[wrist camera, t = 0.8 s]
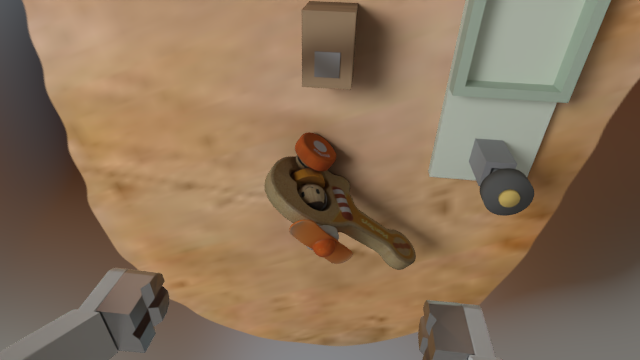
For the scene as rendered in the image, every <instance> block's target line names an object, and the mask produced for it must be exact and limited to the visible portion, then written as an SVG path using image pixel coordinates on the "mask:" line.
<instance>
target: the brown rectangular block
mask: <svg viewBox="0 0 640 360" xmlns="http://www.w3.org/2000/svg"><path fill="white" fill-rule="evenodd" d="M357 11H358V3H342V2H317V1H309V2H308V3H307V5H306V6H305V7H304V8H303V9H302V87H313V88H330V89H346V90H351V85H352V78H353V68H354V54H355V39H356V25H357Z"/></svg>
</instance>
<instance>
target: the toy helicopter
mask: <svg viewBox="0 0 640 360" xmlns="http://www.w3.org/2000/svg"><path fill="white" fill-rule="evenodd" d="M295 150H296V153H297V156H296V157H285V158H282V159H280V160H279V161H277V162H276V163H275V164H274V166H273V167H272V169H271V170H270V172H269V173H268V175H267V177H266V180H265V192H266V194H267V197H268V199H269V201H270V202H271V204H272V205H273V206H274V207H275V208H276V209H277V210H278V211H279V212H280V213H281V214H282V215H283V216H284V217H285V218H287V219H288V220H289V221H291V222H292V223H293V224H292V225H291V226H290V229H289V231H290V234H291V235H293V236H294V237H295V238H296V239H298V240H299V241H300V242H302V243H303V244H304V245H306V246H307V247H308V248H309V249H311V250H314V252H315V253H316V254H317V255H318V256H320V257H324V258H325V259H327V260H328V261H330V262H331V263H334V264H340V263H343V262H346V261H347V260H349V259H350V258H351V257H352V255H353V253H352V251H351V250H349V249H348V248H347V247H345V246H344V245H343V244H341V243H339V242H338V239H339V235H338V232H342V233H344V234H346V235H348V236H350V237H352V238H353V239H355V240H357V241H359V242H360V243H362V244H364V245H366V246H368V247H369V248H371V249H373V250H374V251H376V252H377V253H379V255H380V256H381V257H382V258H383V260H384V261H385V262H386V263H387V264H388V265H389V266H391V267H392V268H394V269H398V270H401V269H404V268H406V267H407V266H409V265H411V264H412V263H413V262H414V261H415V258H416V255H415V251H414V248H413V246H412V244H411V243H410V241H409V240H408V239H407V238H406V237H405V236H404V235H403V234H402V233H400V232H398V231H396V230H389V229H386V228H385V227H383V226H382V225H380V224H379V223H377V222H376V221H374V220H373V219H371V218H370V217H369V216H367V215H366V214H364V213H363V212H361V211H360V210H359V209H358V208H357V207H356V206H355V204H354V202H353V199H352V198H351V196H350V193H349V190H350V184H349V183H348V181H347V180H346V179H345V178H343V177H341V176H336V175H333V174H331V173H330V172H329V171H328V169H329V168H330V167H331V165H332V164H333V163H334V162H335V159H336V153H335V151H334V149H333V148H332V146H331V145H330V144H329V143H328V142H327V141H326V140H325V139H324V138H322V137H321V136H319V135H317V134H314V133H305V134H303V135H302V136H301V137H300V139H299V140H298V141H297V143H296V145H295Z"/></svg>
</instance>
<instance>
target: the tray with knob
mask: <svg viewBox="0 0 640 360" xmlns="http://www.w3.org/2000/svg"><path fill="white" fill-rule="evenodd" d="M610 1H611V0H466V1H465V6H464V10H463V15H462V20H461V24H460V29H459V33H458V38H457V42H456V47H455V52H454V56H453V61H452V65H451V70H450V74H449V79H448V84H447V88H446V93H445V97H444V102H443V106H442V111H441V116H440V120H439V125H438V129H437V134H436V138H435V143H434V148H433V152H432V157H431V161H430V166H429V170H428V172H429V177H441V178H453V179H465V180H476V181H477V183H478V186H480V185H481V183H482V181H483V180H484V179H485V178H486V176H488V175H489V174H490V171H491V168H499V169H505V168H512V169H516V170H519V171H521V172H522V173H524V174H525V175H526V177H528V174H529V171H530V169H531V166H532V164H533V161H534V159H535V156H536V154H537V151H538V149H539V146H540V144H541V141H542V139H543V136H544V134H545V131H546V129H547V126H548V124H549V121H550V119H551V116H552V114H553V111H554V109H555V106H556V104H557V102H561V103H568V102H569V100H570V97H571V95H572V93H573V90H574V88H575V85H576V83H577V81H578V78H579V76H580V73H581V71H582V69H583V66H584V64H585V61H586V59H587V57H588V54H589V52H590V49H591V47H592V45H593V42H594V40H595V37H596V35H597V33H598V30H599V28H600V25H601V23H602V21H603V18H604V16H605V13H606V11H607V8H608V6H609V4H610Z"/></svg>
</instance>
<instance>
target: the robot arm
mask: <svg viewBox="0 0 640 360" xmlns="http://www.w3.org/2000/svg"><path fill="white" fill-rule="evenodd" d="M163 283H164V278H163V275H162V274H160V273H154V272H146V271H138V270H131V269H122V268H113V269H111V270H109V271H108V272H107V274H106V275H105V276H104V277H103V279H102V280H101V281H100V283H99V284H98V285H97V286H96V287H95V289H94V290H93V291H92V293H91V294H90V295H89V296H88V298H87V299H86V300H85V302H84V303H83V304H82V305H81V306H80V308H79V309H78V310H75V309H73V310H72V311H70V312H68V313H66V314H65V315H63V316H61V317H59V318H57V319H56V320H54V321H53V322H51V323H49V324H47V325H45V326H44V327H42V328H40V329H38V330H37V331H35V332H33V333H31V334H30V335H28V336H26V337H25V338H23V339H21V340H19V341H18V342H16V343H14V344H12V345H11V346H9V347H7V348H5V349H4V350H2V351H0V360H109V359H110V358H112V357H113V356H114V355H115V354H116V353H118V350H119V351H129V352H140V353H145V352H146V350H147V348H148V347H149V345H150V343H151V341H152V339H153V337H154V336H155V334H156V332H155V327H154V326H155V325H157V324H159V323H160V322H161V321H163V319H164V317H165V315H166V313H167V310H168V306H169V294H168V291H167V290H166V289H165V288H164V287H163V286H162V285H163ZM423 311H424V316H423V317H421V319H420V323H419V332H418V339H419V350H420V352H421V353H422V354H423V355H424V356H423V360H503V359H502V358H496V356H495V352H494V349H493V346H492V343H491V339H490V336H489V332H488V329H487V326H486V322H485V319H484V315H483V312H482V309H481V307H480V306H479V305H470V304H460V303H453V302H441V301H430V300H426V301H425V303H424V307H423Z"/></svg>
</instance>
